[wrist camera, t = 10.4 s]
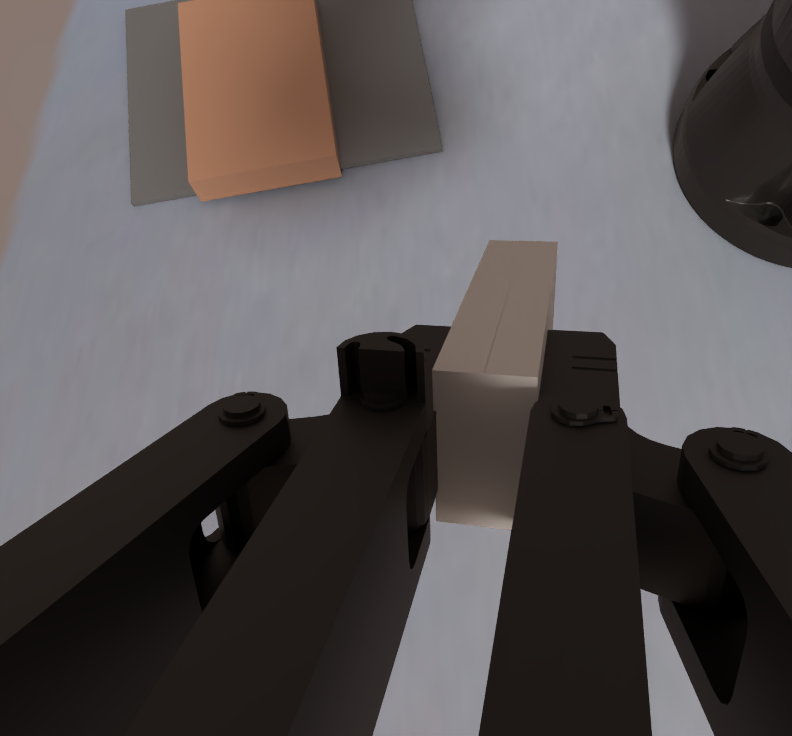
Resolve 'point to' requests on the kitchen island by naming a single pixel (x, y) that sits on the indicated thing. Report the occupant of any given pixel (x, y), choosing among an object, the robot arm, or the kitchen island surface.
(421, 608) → the kitchen island surface
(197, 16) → the tile
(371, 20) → the mat
